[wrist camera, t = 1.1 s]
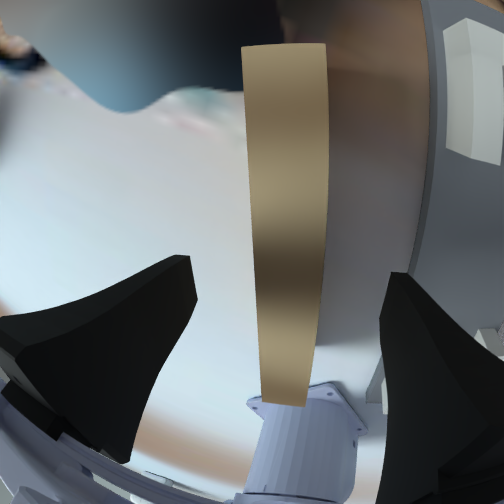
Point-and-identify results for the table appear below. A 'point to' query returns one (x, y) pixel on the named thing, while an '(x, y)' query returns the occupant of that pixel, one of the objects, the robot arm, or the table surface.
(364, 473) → the table surface
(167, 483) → the photo printer
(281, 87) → the slat
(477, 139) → the cradle
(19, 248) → the table surface
